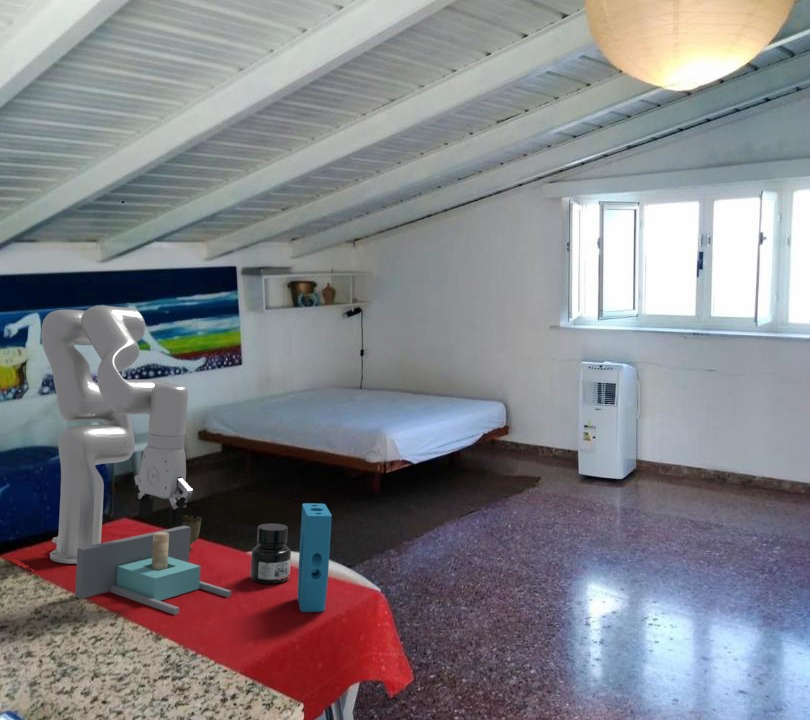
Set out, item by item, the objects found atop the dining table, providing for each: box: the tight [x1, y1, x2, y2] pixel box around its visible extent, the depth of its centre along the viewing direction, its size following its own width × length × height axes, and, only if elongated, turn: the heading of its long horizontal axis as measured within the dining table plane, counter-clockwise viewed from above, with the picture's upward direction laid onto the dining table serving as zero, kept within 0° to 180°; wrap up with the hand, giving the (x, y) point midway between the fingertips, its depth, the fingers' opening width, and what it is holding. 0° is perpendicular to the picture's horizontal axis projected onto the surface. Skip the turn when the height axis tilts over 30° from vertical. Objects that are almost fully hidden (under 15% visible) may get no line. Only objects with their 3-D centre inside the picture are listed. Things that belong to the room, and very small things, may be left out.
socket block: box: [117, 557, 202, 601], centre depth 162 cm, size 12×12×5 cm
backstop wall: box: [74, 526, 232, 615], centre depth 161 cm, size 22×28×10 cm
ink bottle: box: [249, 523, 292, 585], centre depth 174 cm, size 10×9×12 cm
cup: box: [172, 514, 203, 550], centre depth 194 cm, size 8×7×8 cm
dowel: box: [152, 532, 169, 571], centre depth 162 cm, size 3×3×12 cm
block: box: [297, 502, 332, 613], centre depth 159 cm, size 12×5×20 cm, turn 13°
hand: (160, 521), depth 163 cm, fingers open, 9 cm apart
